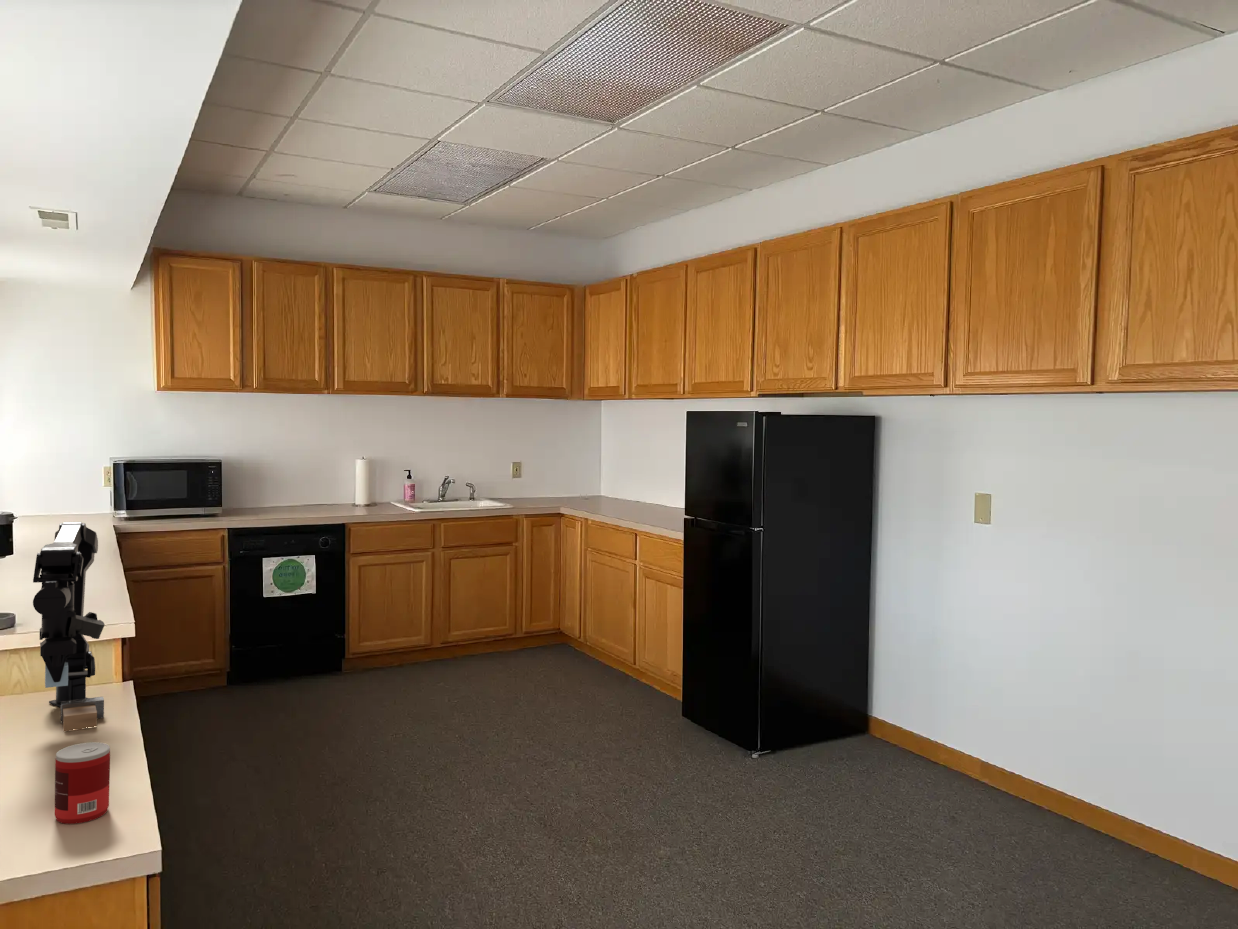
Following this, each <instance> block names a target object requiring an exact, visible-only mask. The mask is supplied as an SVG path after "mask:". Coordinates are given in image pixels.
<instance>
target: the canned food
mask: <svg viewBox="0 0 1238 929" xmlns="http://www.w3.org/2000/svg"><path fill="white" fill-rule="evenodd" d="M54 759H55V760H54V761H55V762H54V764H55V765H54V817H55V818H56V821H57V822H58V823H61V824H64V825H75V824H83V823H87V822H91V821H94V820H96V819H98V818H101V817H103V816H104V815H105V814H106V813H107V812H108V809H109V807H110V781H111V780H110V772H111V749H110V745H109V744H108V743H104V742H98V741H96V742H94V741H93V742H92V741H91V742H90V741H89V742H81V743H77V744H76V743H75V744H72V745H69V746H65V747H64V748H62V749H60V750H57V752H56V753H55V758H54Z"/></svg>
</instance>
